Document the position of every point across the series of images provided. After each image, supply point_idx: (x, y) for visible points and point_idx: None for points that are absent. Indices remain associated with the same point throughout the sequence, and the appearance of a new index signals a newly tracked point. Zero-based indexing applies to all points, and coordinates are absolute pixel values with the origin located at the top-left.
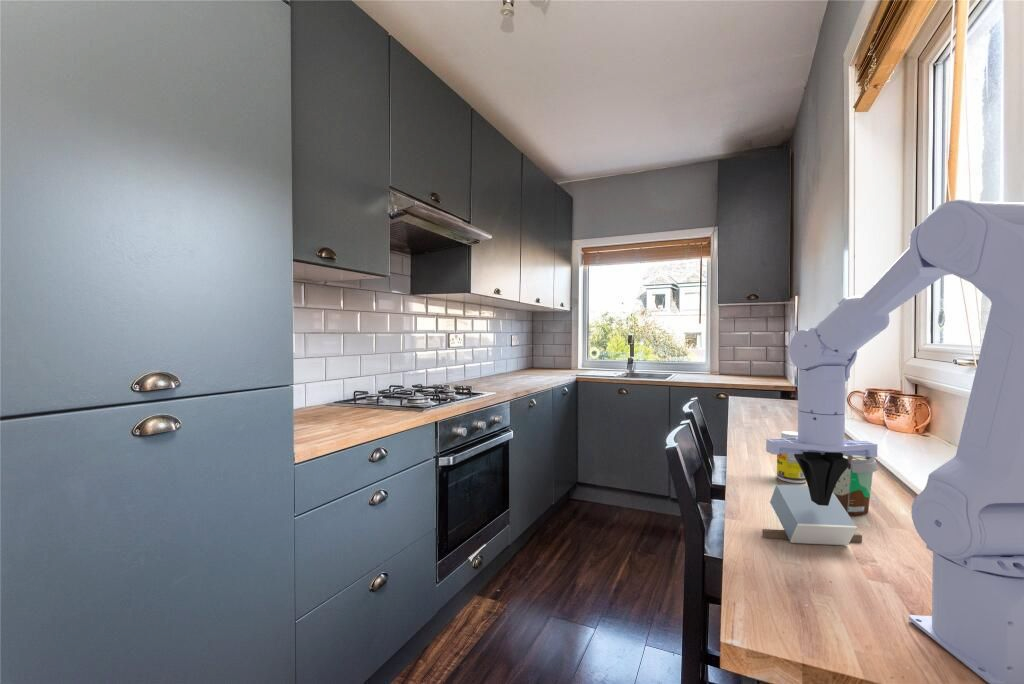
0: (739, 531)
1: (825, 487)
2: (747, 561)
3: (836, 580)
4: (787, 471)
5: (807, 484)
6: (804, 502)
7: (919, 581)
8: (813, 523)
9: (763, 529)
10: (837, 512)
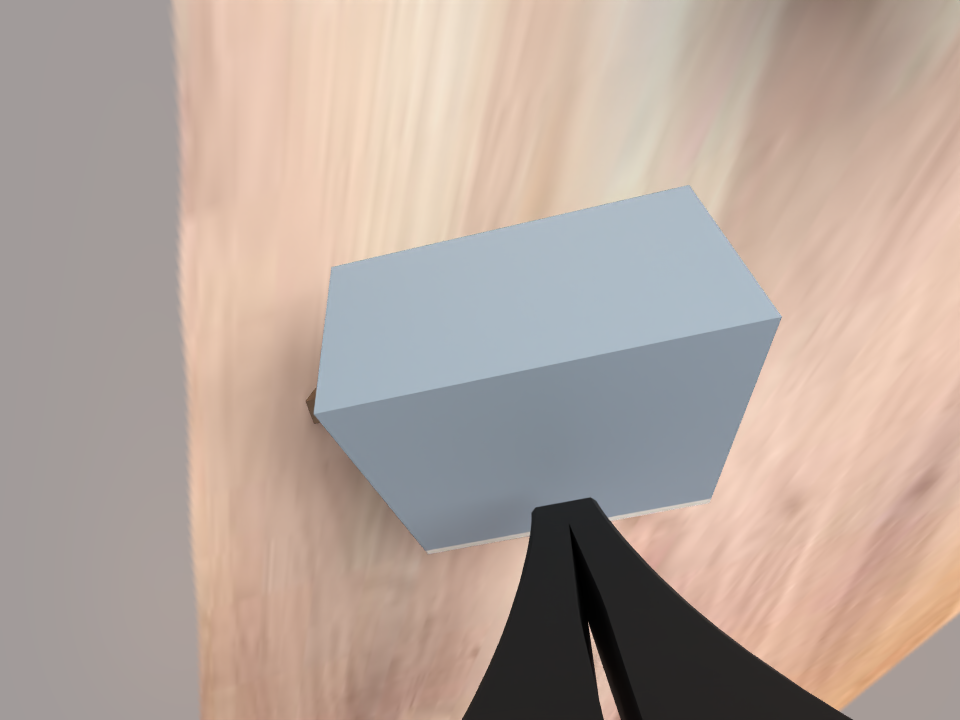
0: (217, 371)
1: (613, 692)
2: (247, 609)
3: (495, 642)
4: None
5: (519, 583)
6: (497, 472)
7: (753, 584)
8: (503, 533)
9: (310, 405)
10: (668, 469)
